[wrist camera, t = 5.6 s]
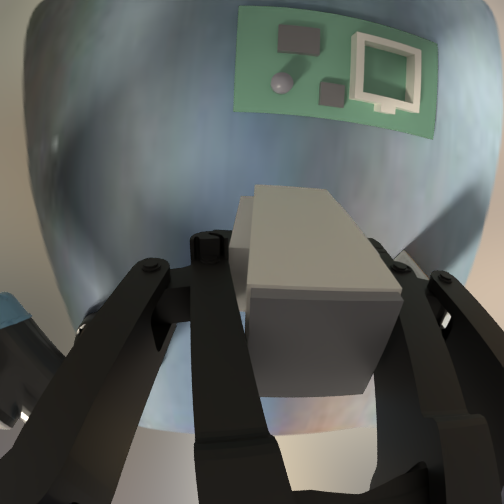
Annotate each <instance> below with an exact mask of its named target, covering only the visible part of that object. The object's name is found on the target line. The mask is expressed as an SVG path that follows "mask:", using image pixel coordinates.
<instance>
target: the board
mask: <svg viewBox="0 0 504 504" xmlns="http://www.w3.org/2000/svg"><path fill="white" fill-rule="evenodd" d="M437 76H438V52H437V44H436V43H434V42H431V41H429V40H426V39H424V38H421V37H418V36H415V35H413V34H410V33H407V32H404V31H401V30H397V29H394V28H391V27H388V26H384V25H381V24H377V23H373V22H369V21H365V20H361V19H357V18H352V17H347V16H342V15H337V14H332V13H326V12H319V11H312V10H304V9H295V8H284V7H269V6H239V10H238V26H237V43H236V62H235V83H234V107H233V112H256V113H274V114H288V115H299V116H309V117H318V118H326V119H333V120H340V121H347V122H353V123H359V124H365V125H370V126H376V127H381V128H386V129H390V130H395V131H400V132H404V133H408V134H412V135H416V136H420V137H424V138H428V139H432V140H433V135H434V125H435V114H436V100H437Z"/></svg>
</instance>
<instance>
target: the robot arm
mask: <svg viewBox="0 0 504 504" xmlns="http://www.w3.org/2000/svg"><path fill="white" fill-rule="evenodd" d="M253 202H254V197H251V196H241V198H240V202H239V206H238V210H237V215H236V219H235V223H234V227H233V231H231V230H213V231H206V232H200V233H196V234H194V235H193V236H191V238H190V253H191V265H190V266H187V267H183V268H176V269H170V265H169V263H168V261H166V260H164V259H160V258H149V259H148V258H147V259H144V260H142V261H139V262H138V263H136V264H135V265H134V266H133V267H132V269H131V270H130V271H129V272H128V274H127V275H126V276H125V277H124V279H123V280H122V281H121V282H120V284H119V285H118V286H117V288H116V289H115V290H114V291H113V293H112V294H111V295H110V297H109V298H108V299H107V301H106V302H105V303H104V304H103V306H102V307H101V308H100V310H99V311H98V312H94V313H91V314H89V315H88V316H86V317H85V319H84V320H83V321H82V323H81V324H80V326H79V327H78V329H77V332H76V337H75V341H74V346H73V347H72V349H71V350H70V352H69V353H68V355H67V356H66V357H65V356H64V355H63V354H62V353H61V352H60V351H59V350H58V349H57V348H56V346H55V345H54V344H53V343H52V342H51V341H50V340H49V338H48V337H47V336H46V335H45V334H44V332H43V331H42V330H41V329H40V328H39V326H38V325H37V324H36V323H35V321H34V320H33V319H32V318H31V317H32V315H31V314H30V313H28V312H27V311H26V310H25V309H24V308H23V306H22V305H21V304H20V303H19V302H18V300H17V299H16V298H15V297H14V296H13V295H12V294H11V293H8V292H1V293H0V429H11V428H12V427H13V426H14V425H15V423H16V422H17V420H18V419H20V420H21V421H22V422H23V423H25V425H24V427H23V428H22V430H21V432H20V434H19V436H18V438H17V439H16V441H15V443H14V445H13V447H12V449H10V450H9V451H8V452H7V453H6V454H5V455H4V456H3V457H2V458H1V459H0V504H111V501H112V499H113V496H114V494H115V491H116V488H117V485H118V482H119V478H120V476H121V472H122V470H123V466H124V464H125V461H126V457H127V455H128V452H129V449H130V446H131V443H132V440H133V438H134V435H135V432H136V429H137V426H138V424H139V421H140V418H141V416H142V413H143V410H144V407H145V405H146V402H147V399H148V397H149V394H150V391H151V389H152V386H153V384H154V381H155V378H156V376H157V373H158V371H159V368H160V366H161V363H162V361H163V358H164V356H165V353H166V351H167V348H168V346H169V343H170V341H171V338H172V336H173V333H174V331H175V328H176V324H177V323H180V322H187V321H190V328H191V371H192V394H193V412H194V427H195V443H194V461H195V472H196V482H197V491H198V500H199V504H504V331H503V330H502V329H501V328H500V327H499V325H498V324H497V323H496V322H495V321H494V319H493V318H492V317H491V316H490V315H489V314H488V313H487V311H486V310H485V309H484V308H483V307H482V306H481V304H480V303H479V302H478V301H477V300H476V299H475V298H474V297H473V296H472V295H471V293H469V291H468V290H467V289H466V288H465V287H464V286H463V285H462V284H461V283H460V282H459V281H458V280H457V279H456V278H455V277H454V276H453V275H451V274H449V273H448V272H445V271H438V270H437V271H433V272H432V273H431V276H430V279H429V280H426V279H421V278H417V276H416V274H415V272H414V271H413V269H412V268H411V267H410V266H408V265H406V264H404V263H402V262H398V261H394V260H393V259H392V258H391V256H390V255H389V254H388V253H387V251H386V250H385V249H384V248H383V246H382V245H381V244H380V243H379V242H377V241H376V240H374V239H373V238H367V237H366V236H365V235H364V233H363V232H362V231H361V229H360V228H359V227H358V226H357V224H356V223H355V222H354V221H353V219H352V218H351V217H350V216H349V214H348V213H347V212H346V211H345V210H344V208H343V207H342V206H341V205H340V204H339V203H338V204H339V205H340V206H341V208H342V209H343V210H344V211H345V212H346V214H347V215H348V216H349V217H350V219H351V220H352V221H353V222H354V224H355V225H356V226H357V227H358V229H359V230H360V231H361V233H362V234H363V235H364V236H365V238H366V239H367V240H368V242H369V243H370V244H371V246H372V247H373V248H374V250H375V251H376V252H377V254H378V255H379V256H380V258H381V259H382V260H383V262H384V263H385V265H386V266H387V267H388V269H389V270H390V271H391V273H392V274H393V276H394V277H395V279H396V280H397V281H398V283H399V284H400V286H401V287H402V292H401V297H402V298H403V300H404V302H403V305H402V307H401V310H400V313H399V315H398V318H397V320H396V323H395V325H394V328H393V330H392V333H391V335H390V338H389V340H388V342H387V345H386V347H385V349H384V351H383V354H382V356H381V358H380V360H379V362H378V364H377V367H376V369H375V371H374V383H375V397H376V415H377V451H378V452H377V455H378V456H377V459H378V460H377V467H376V470H375V473H374V475H373V477H372V480H371V484H370V490H369V491H367V492H365V493H362V494H344V493H332V492H324V491H316V490H303V491H292V490H291V486H290V483H289V480H288V476H287V473H286V469H285V466H284V462H283V458H282V455H281V451H280V448H279V446H278V443H277V441H276V439H275V437H274V436H272V435H270V433H269V431H268V428H267V424H266V420H265V417H264V413H263V409H262V405H261V401H260V397H259V393H258V388H257V384H256V380H255V376H254V372H253V368H252V364H251V359H250V355H249V351H248V347H247V342H246V338H245V334H244V329H243V325H242V321H241V316H240V312H239V311H243V312H246V291H247V275H248V263H249V250H250V238H251V226H252V214H253ZM447 312H448V313H449V314H450V316H451V318H450V320H449V322H448V324H447V326H446V328H444V327H443V325H442V323H443V320H444V318H445V316H446V314H447Z"/></svg>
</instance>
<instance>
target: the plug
mask: <svg viewBox="0 0 504 504" xmlns="http://www.w3.org/2000/svg"><path fill="white" fill-rule="evenodd" d="M401 292H402V287H401V286H400V284H399V283H398V281H397V280H396V279H395V277H394V276H393V274H392V273H391V271H390V270H389V269H388V267H387V266H386V265H385V263H384V262H383V260H382V259H381V258H380V256H379V255H378V254H377V252H376V251H375V250H374V248H373V247H372V246H371V244H370V243H369V242H368V240H367V239H366V238H365V236H364V235H363V234H362V233H361V231H360V230H359V229H358V227H357V226H356V225H355V224H354V222H353V221H352V220H351V219H350V217H349V216H348V215H347V214H346V212H345V211H344V210H343V209H342V208H341V206H340V205H339V204H338V203H337V202H336V200H335V199H334V198H333V197H332V196H331V194H330V193H329V192H328V191H327V190H326V189H314V188H302V187H288V186H273V185H255V190H254V202H253V214H252V226H251V238H250V250H249V263H248V275H247V291H246V315H245V338H246V342H247V347H248V351H249V355H250V359H251V364H252V368H253V372H254V376H255V380H256V384H257V388H258V393H259V397H326V396H344V395H357V394H363V393H364V391H365V389H366V387H367V385H368V383H369V381H370V379H371V377H372V375H373V373H374V371H375V369H376V367H377V364H378V362H379V360H380V358H381V356H382V354H383V351H384V349H385V347H386V345H387V342H388V340H389V338H390V335H391V333H392V330H393V328H394V325H395V323H396V320H397V318H398V315H399V313H400V310H401V307H402V305H403V302H404V300H403V298H402V297H401Z"/></svg>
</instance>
